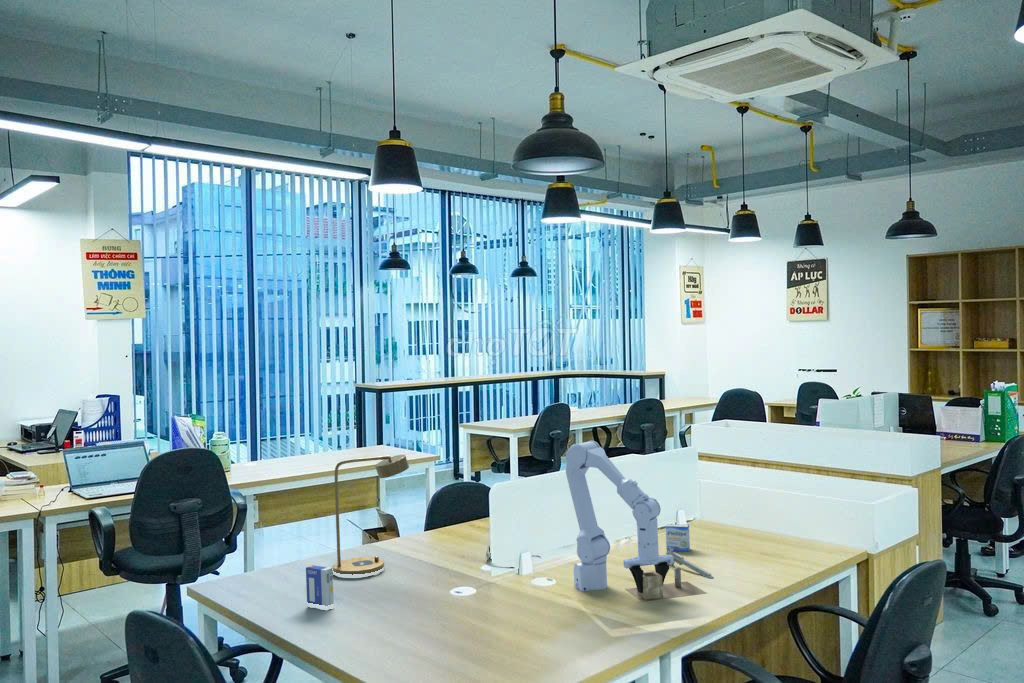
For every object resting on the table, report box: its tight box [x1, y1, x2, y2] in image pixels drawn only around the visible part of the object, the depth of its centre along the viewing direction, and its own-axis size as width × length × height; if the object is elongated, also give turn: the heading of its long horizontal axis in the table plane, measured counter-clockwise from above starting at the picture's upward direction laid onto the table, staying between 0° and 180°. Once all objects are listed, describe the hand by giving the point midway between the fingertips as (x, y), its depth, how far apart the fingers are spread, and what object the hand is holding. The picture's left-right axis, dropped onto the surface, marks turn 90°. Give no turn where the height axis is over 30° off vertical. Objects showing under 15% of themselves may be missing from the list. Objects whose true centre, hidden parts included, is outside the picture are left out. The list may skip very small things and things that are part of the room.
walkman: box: [305, 564, 335, 606], centre depth 223 cm, size 8×3×12 cm, turn 60°
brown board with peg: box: [625, 566, 707, 603], centre depth 222 cm, size 20×12×7 cm, turn 105°
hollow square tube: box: [637, 570, 664, 600], centre depth 218 cm, size 5×5×6 cm
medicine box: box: [665, 523, 691, 552], centre depth 272 cm, size 8×4×9 cm, turn 73°
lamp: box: [331, 454, 410, 575], centre depth 262 cm, size 17×27×38 cm, turn 113°
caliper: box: [665, 547, 715, 579], centre depth 246 cm, size 20×1×6 cm, turn 31°
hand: (649, 590), depth 218 cm, fingers closed on hollow square tube, 5 cm apart
